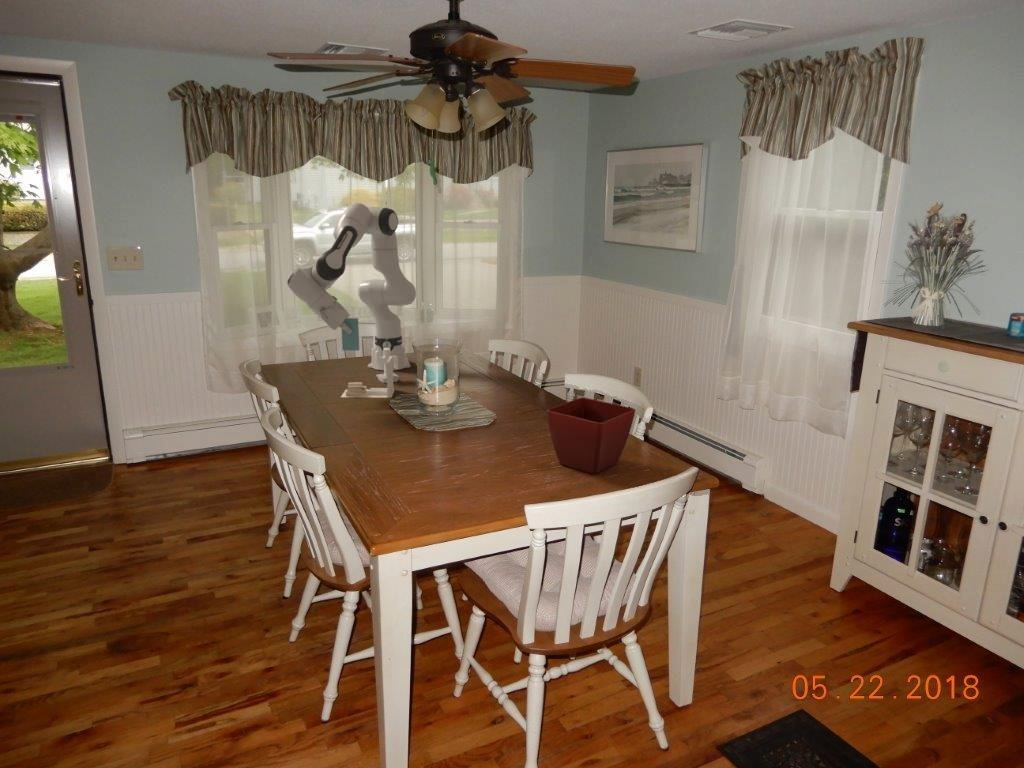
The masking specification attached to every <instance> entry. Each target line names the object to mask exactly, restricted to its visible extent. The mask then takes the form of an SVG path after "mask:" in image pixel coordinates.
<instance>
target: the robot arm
mask: <svg viewBox="0 0 1024 768" xmlns="http://www.w3.org/2000/svg"><path fill="white" fill-rule="evenodd" d="M398 226H399V218H398V215H397V213H396V211H395V210H393V209H392V208H388V207H381V206H366V205H365V204H363V203H359V202H354V203H352V204H350V205H349V206H348V207H347V208H346V209H344V211H343V213H342V214H341V216H340V217H339V219H338V220H337V222H336V224H335V226H334V229H333V238H334V241H333V244H332V246H331V247H330V248H329V249H328V250H326V251H325V252H323V253H321V255H319V257H318V259H317V260H316V262H315V263H314V265H312V266H308V267H303V268H302V267H297V268H296V269H294V270H293V272H292V273H291V275H290V276H289V278H288V279H287V286H288V288H289V289H290V290H291V291H292V292H293V293H294V295H295V296H296V297H297V298H298V299H299V300H301V301H303V302H304V303H305V304H306V305H307V306H308V308H309V309H310V310H311V311H312V312H313V313H314V314H316V316H318V317H319V318H321V320H323V322H325V324H326V325H327V326H328V327H329V328H330V329H331V330H334V331H336V330H337V329H338V328H340V330H342V329H343V330H344V331H346V332H347V333H348V334H350V333H351V332H352V331H353V330H352V329H351V328H350V327H348V326H347V325H346V324H345V323H344V321H345V318H350V313H349V312H348V310H346V309H345V307H344V306H343V305H342V304H341V303H340V302H339V301H338V298H337V297H336V296H335V295H332V294H330V293H329V292H328V291H327V290H328V289H330V288H331V287H332V286H333V285H334V284H335V283H336V281H337V280H338V279H339V278H340V277H341V276H342V275H344V273H345V270H346V261H347V260H346V259H347V256H348V254H349V253H350V251H351V249H352V248H354V247H356V246H357V245H358V244H359V243H360V241H362V239H363V237H364V236H365V235H370V236H371V237H370V238H371V239H370V242H371V243H370V244H371V264H372V266H373V268H374V270H376V272H378V273H381V274H382V275H383V277H384V278H385V279H375V278H373V279H367V280H363V281H362V282H361V283H360V284H359V286H358V289H357V294H358V297H359V299H360V301H361V302H362V303H363V304H365V305H366V307H368V309H369V310H370V312H371V315H372V316H373V320H374V329H375V330H374V331H375V336H374V346H373V347H372V348H371V362H370V363H368V364H367V368H372V369H374V370H378V371H384V364H377V363H376V356H375V352H376V351H379V352H380V357H383V356H384V355H383V348H390V356H397V357H398V369H395V368H394V363H393V371H398V370H403V369H408V368H411V364H410V361H409V359H408V357H407V355H406V348H405V347H404V346H403V345H402V344H403V336H402V331H401V318H400V317H399V316H398V315H397V314H395V313H393V311H391V309H390V308H389V306H395V307H397V306H398V307H399V306H401V307H402V306H403V307H404V306H408V305H412V303H414V302H415V300H416V296H417V295H416V294H417V290H416V287H415V285H414V284H413V282H411V281H409V280H408V278H406V276H405V275H404V273H403V272H402V270H401V267H400V266H401V265H400V260H399V255H398V252H399V251H398V249H399V248H398V241H397V234H396V230H397V228H398Z"/></svg>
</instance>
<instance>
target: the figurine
mask: <svg viewBox="0 0 1024 768" xmlns="http://www.w3.org/2000/svg"><path fill="white" fill-rule="evenodd" d="M383 355H384V356H383V357H380V352H379V351H376V352H375V356H376V363H377V364H384V370H383V373H379V374H376V375H375V376H376V377H377V379H378V381H380V382H381V383H383V384H387V367H386V362H387V361H388V359H389V357H390V348H383ZM393 363H394V368H395V369H398V357H397V356H393ZM399 377H400V375H398V374H396V373H394V372H393V383H394V382H398V380H399Z"/></svg>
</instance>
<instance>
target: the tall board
mask: <svg viewBox="0 0 1024 768" xmlns="http://www.w3.org/2000/svg"><path fill="white" fill-rule="evenodd" d="M344 323H345V324H346V325H347V326H348V327H350V328H351V329H352V330H353V331H352V332H351V333H350V334H348V333H347V332H346V331H344V330H343V329H341V345H342V348H341V349H342V351H360V334H359V333H360V332H359V330H360V329H359V328H360V327H359V317H358V318H357V317H348V318H345V321H344Z"/></svg>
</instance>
